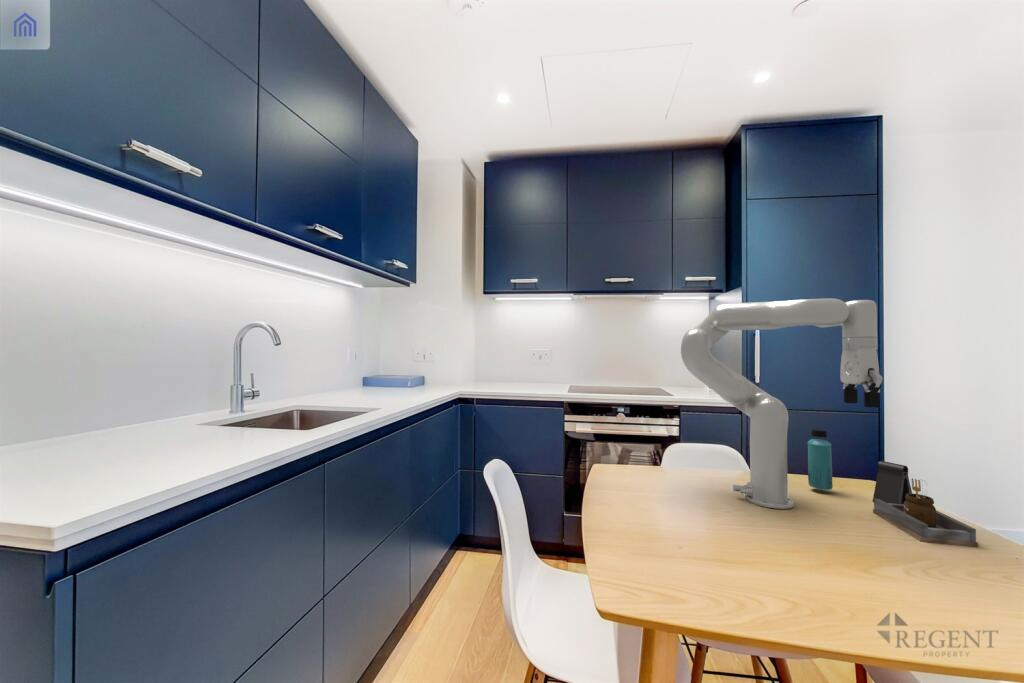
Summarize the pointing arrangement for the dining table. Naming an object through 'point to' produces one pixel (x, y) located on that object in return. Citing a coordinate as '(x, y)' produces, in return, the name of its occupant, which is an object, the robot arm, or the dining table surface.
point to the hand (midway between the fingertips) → (860, 405)
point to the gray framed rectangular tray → (942, 533)
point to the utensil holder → (920, 506)
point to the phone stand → (892, 483)
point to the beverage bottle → (819, 461)
